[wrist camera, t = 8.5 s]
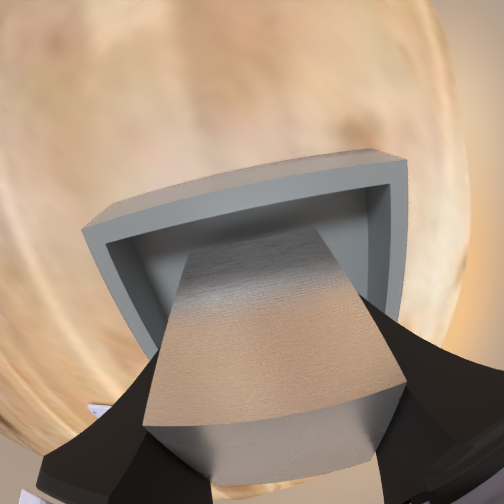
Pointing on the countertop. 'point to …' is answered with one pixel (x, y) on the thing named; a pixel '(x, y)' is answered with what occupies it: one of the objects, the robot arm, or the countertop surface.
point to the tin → (271, 365)
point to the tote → (256, 229)
